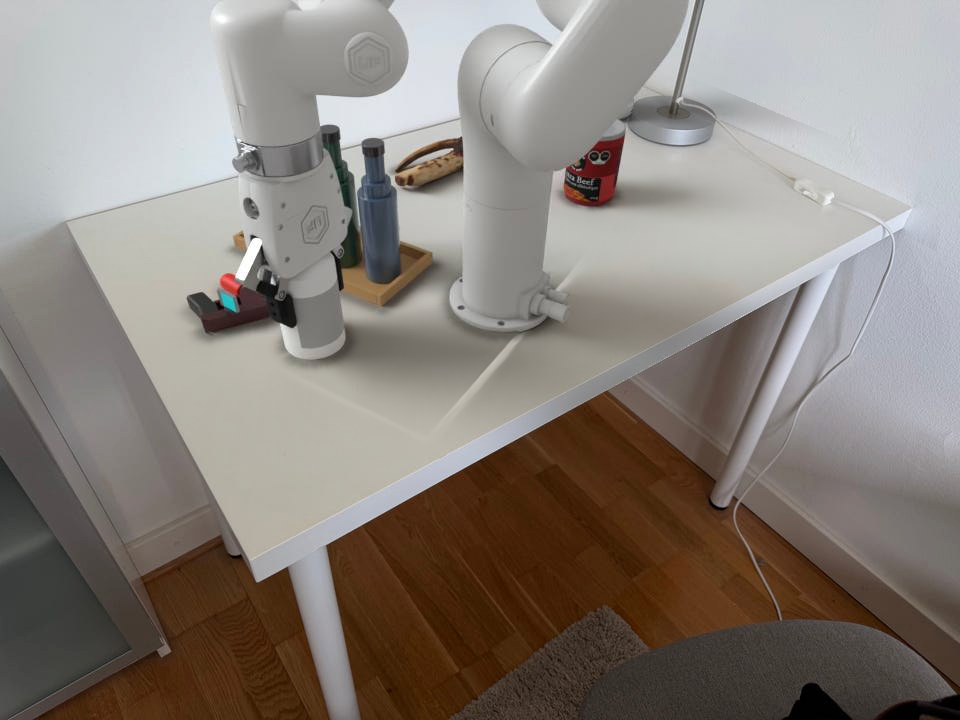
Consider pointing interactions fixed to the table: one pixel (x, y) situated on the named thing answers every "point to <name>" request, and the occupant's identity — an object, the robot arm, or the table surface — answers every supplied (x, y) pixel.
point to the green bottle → (344, 196)
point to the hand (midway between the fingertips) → (308, 302)
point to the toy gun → (228, 306)
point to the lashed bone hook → (431, 163)
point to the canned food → (597, 170)
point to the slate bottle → (378, 217)
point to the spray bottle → (315, 311)
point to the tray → (375, 293)
